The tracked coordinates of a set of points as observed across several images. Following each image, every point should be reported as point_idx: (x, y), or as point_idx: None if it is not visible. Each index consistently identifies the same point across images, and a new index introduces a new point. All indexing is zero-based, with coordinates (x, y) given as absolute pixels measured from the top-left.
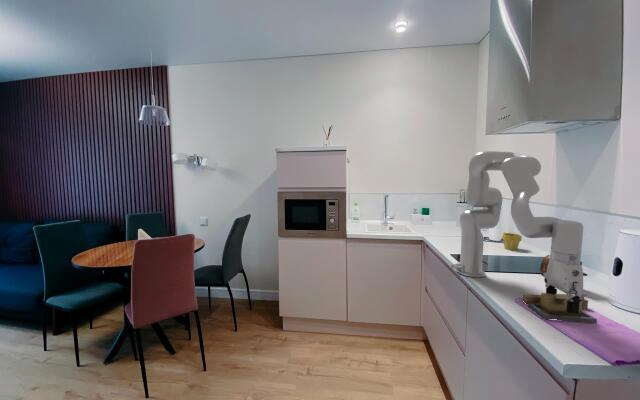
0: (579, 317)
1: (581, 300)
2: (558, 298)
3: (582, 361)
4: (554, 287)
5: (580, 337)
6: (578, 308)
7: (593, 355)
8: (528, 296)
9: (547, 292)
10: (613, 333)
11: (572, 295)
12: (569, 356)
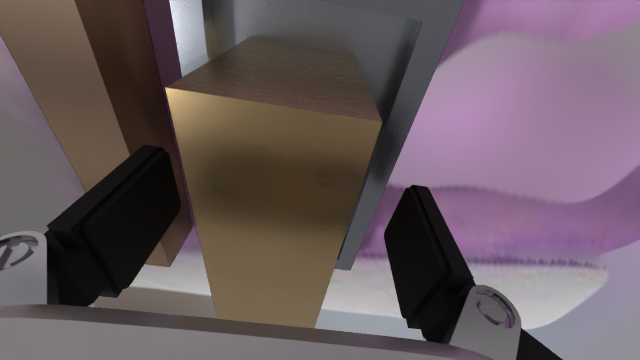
0: (399, 129)
1: (546, 353)
2: (320, 302)
3: (564, 308)
4: (66, 267)
5: (497, 233)
6: (440, 219)
7: (576, 274)
8: (158, 258)
9: (148, 255)
10: (594, 8)
11: (209, 123)
12: (533, 316)
